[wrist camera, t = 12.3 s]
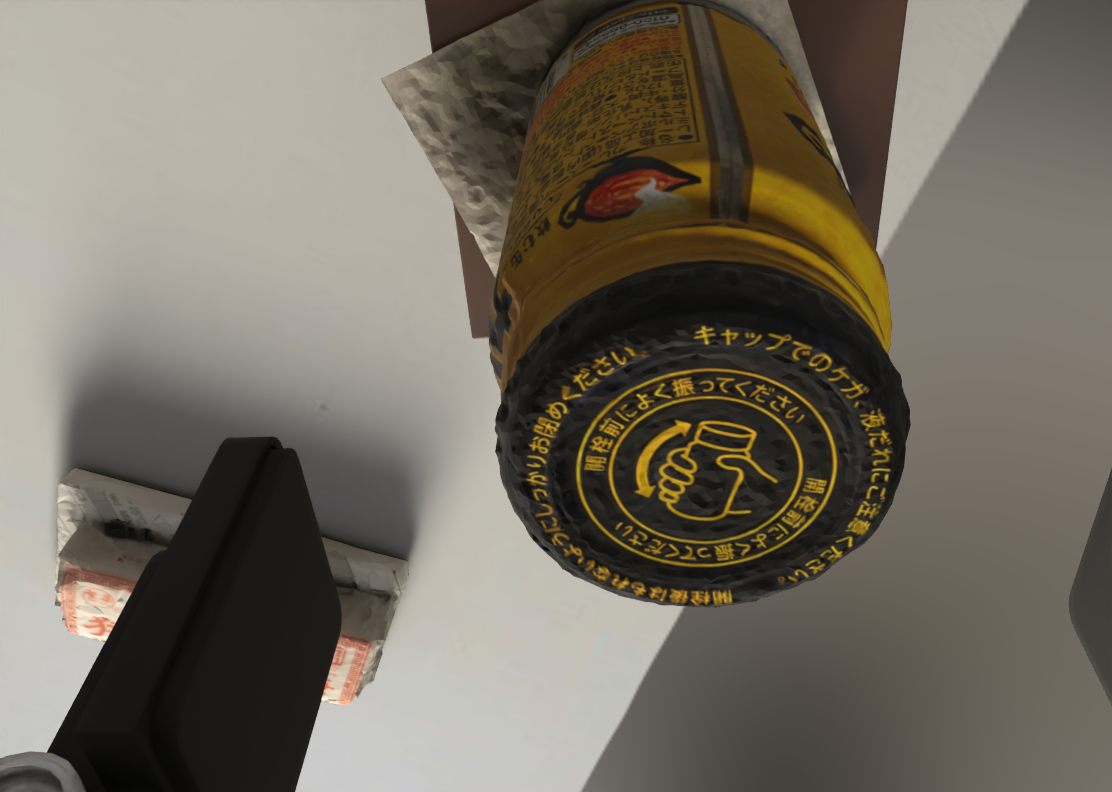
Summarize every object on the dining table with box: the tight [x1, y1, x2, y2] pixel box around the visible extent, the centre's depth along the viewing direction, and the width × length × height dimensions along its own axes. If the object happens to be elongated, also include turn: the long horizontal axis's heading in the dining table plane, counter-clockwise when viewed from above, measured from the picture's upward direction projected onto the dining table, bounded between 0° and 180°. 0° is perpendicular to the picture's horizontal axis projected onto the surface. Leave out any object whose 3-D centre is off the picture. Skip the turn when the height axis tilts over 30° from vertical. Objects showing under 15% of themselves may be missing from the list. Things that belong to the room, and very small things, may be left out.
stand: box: [425, 0, 908, 339], centre depth 29 cm, size 10×10×16 cm
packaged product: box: [55, 468, 409, 705], centre depth 52 cm, size 18×5×10 cm
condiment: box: [381, 0, 911, 607], centre depth 17 cm, size 7×8×12 cm
